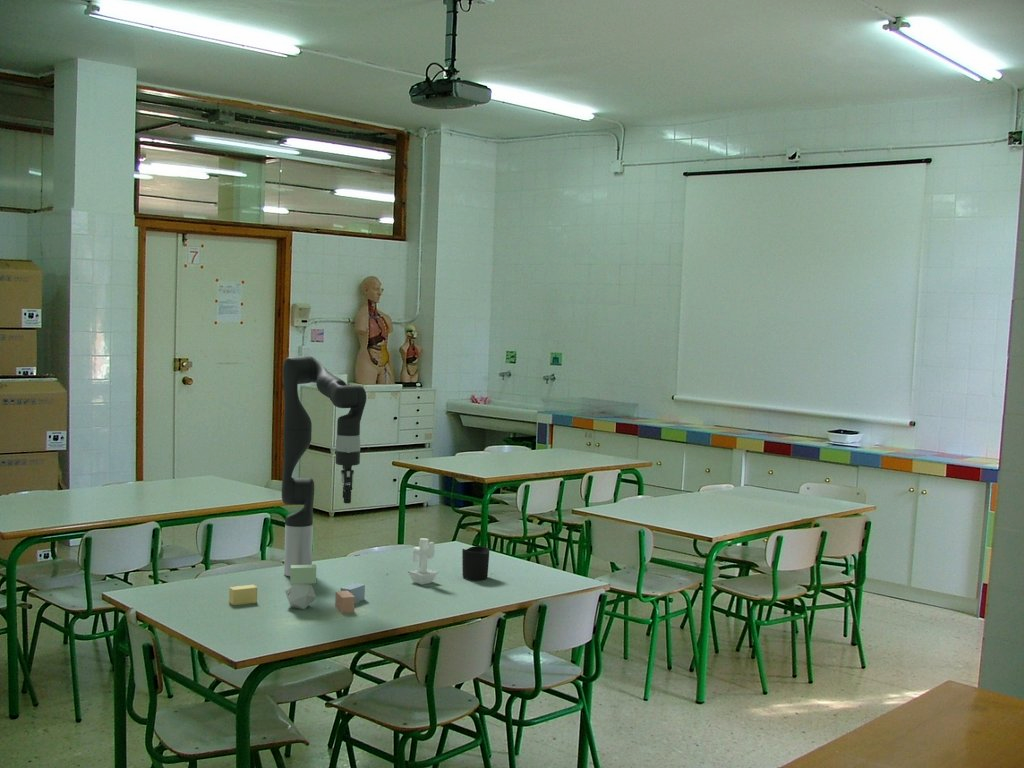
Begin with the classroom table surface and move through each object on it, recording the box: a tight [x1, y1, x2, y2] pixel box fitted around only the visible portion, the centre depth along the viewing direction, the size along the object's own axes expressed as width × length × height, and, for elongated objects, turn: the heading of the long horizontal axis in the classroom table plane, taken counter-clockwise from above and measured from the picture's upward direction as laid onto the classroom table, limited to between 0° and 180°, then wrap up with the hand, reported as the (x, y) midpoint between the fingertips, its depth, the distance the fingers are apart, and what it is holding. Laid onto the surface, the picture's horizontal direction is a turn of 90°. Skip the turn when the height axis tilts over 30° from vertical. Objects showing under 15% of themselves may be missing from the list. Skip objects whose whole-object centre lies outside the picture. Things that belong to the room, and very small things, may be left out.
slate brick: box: [339, 582, 366, 604], centre depth 312 cm, size 4×8×5 cm, turn 152°
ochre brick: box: [228, 584, 258, 606], centre depth 306 cm, size 4×8×5 cm, turn 123°
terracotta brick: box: [334, 590, 356, 614], centre depth 302 cm, size 4×8×5 cm, turn 25°
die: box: [284, 583, 317, 610], centre depth 303 cm, size 8×9×10 cm
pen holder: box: [461, 545, 490, 581], centre depth 347 cm, size 9×9×10 cm
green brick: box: [289, 564, 317, 585], centre depth 303 cm, size 4×8×5 cm, turn 103°
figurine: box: [407, 537, 439, 586], centre depth 338 cm, size 7×9×15 cm
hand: (346, 500), depth 313 cm, fingers open, 8 cm apart
